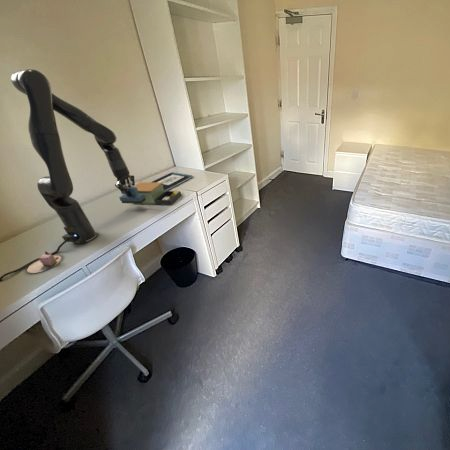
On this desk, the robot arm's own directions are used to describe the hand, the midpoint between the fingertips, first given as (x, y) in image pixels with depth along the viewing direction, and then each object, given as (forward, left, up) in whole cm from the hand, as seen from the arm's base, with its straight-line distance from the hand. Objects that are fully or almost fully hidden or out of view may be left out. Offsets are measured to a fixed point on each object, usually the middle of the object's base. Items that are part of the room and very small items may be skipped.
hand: (131, 195), depth 150 cm
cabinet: (+13, 0, -10) cm, 16 cm away
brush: (0, 0, -4) cm, 4 cm away
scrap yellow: (+17, -16, -8) cm, 25 cm away
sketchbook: (+39, +3, -10) cm, 40 cm away
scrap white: (+10, -13, -7) cm, 18 cm away
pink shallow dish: (-50, +11, -10) cm, 52 cm away
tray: (+13, -13, -10) cm, 21 cm away
